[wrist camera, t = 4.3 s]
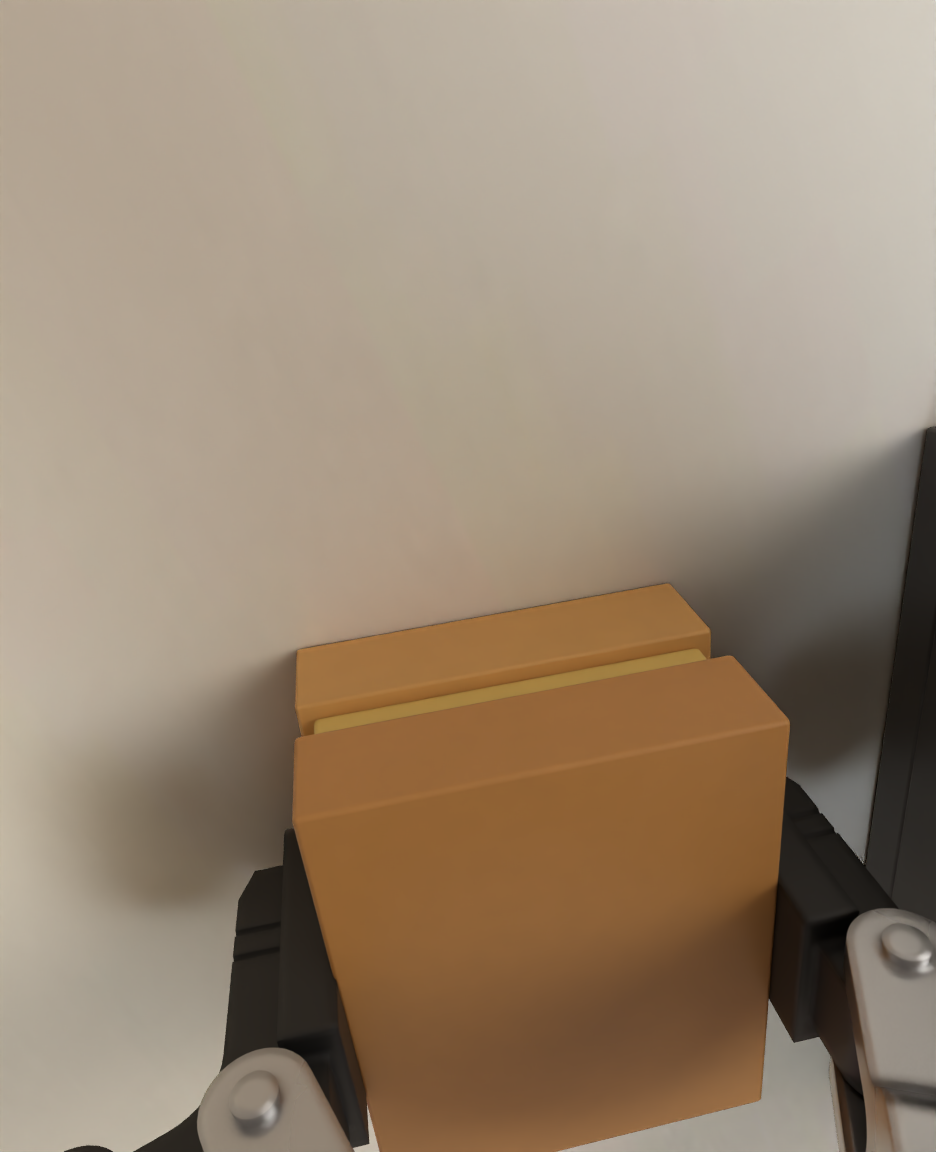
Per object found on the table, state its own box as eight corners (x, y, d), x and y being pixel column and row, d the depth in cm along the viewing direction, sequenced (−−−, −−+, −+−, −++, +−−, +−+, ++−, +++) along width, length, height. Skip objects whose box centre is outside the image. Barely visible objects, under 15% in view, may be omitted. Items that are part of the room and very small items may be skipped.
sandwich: (295, 648, 12) (290, 821, 9) (670, 581, 13) (792, 720, 9) (373, 979, 15) (390, 1195, 12) (670, 912, 16) (762, 1101, 12)
